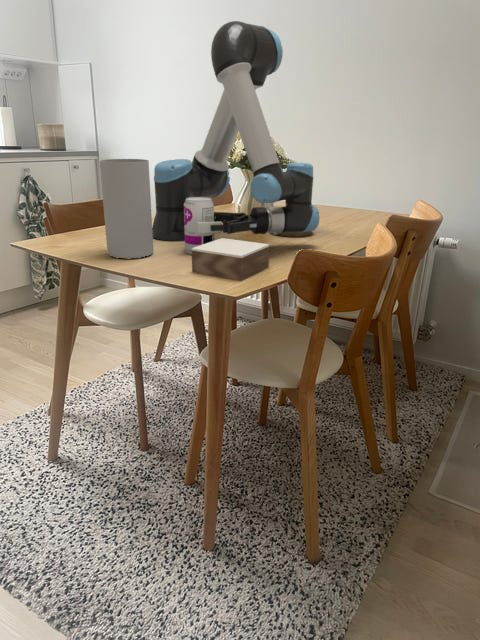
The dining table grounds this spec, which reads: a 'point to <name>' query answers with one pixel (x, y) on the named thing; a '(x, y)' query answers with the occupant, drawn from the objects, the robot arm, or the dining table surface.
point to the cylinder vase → (127, 207)
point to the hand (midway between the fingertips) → (192, 223)
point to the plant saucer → (295, 234)
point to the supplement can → (194, 213)
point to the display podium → (230, 258)
